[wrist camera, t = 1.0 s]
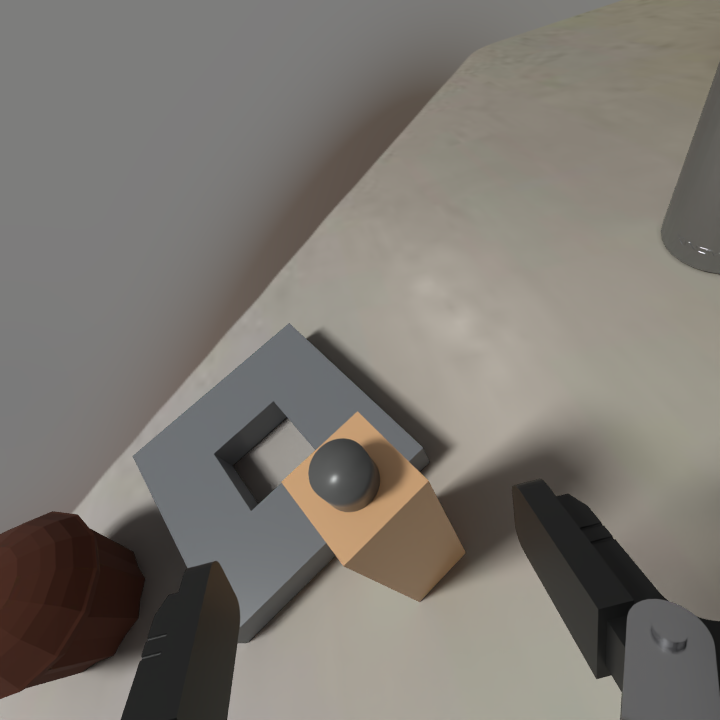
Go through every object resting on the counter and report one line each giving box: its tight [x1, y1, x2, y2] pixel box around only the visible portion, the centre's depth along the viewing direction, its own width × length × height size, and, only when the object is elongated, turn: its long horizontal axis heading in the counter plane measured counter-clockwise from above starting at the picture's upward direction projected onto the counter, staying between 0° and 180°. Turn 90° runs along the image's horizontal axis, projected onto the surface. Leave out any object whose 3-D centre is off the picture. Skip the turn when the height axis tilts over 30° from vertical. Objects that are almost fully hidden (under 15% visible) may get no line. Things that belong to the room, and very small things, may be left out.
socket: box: [133, 323, 430, 643], centre depth 36 cm, size 18×18×3 cm
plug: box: [281, 411, 466, 602], centre depth 23 cm, size 4×4×18 cm
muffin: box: [0, 512, 145, 699], centre depth 31 cm, size 12×11×10 cm
